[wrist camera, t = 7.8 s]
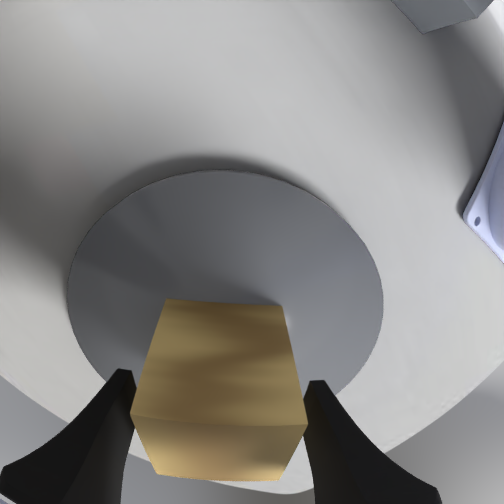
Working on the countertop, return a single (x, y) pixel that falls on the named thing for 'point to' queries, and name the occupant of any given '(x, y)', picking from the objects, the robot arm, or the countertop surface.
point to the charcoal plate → (226, 270)
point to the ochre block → (220, 393)
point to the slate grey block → (440, 12)
